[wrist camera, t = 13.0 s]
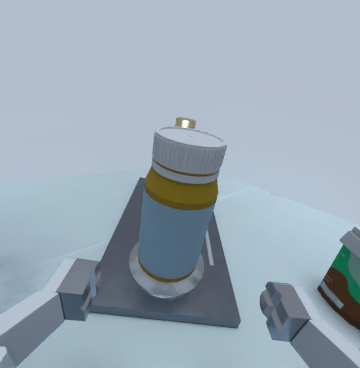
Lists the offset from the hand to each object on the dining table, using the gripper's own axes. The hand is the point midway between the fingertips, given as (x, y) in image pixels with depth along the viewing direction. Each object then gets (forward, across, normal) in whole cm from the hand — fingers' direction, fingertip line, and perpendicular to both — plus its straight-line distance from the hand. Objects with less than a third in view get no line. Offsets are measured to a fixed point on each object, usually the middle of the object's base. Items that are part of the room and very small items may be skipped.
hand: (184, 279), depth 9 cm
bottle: (+10, 0, +10) cm, 14 cm away
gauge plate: (+18, 0, +12) cm, 21 cm away
